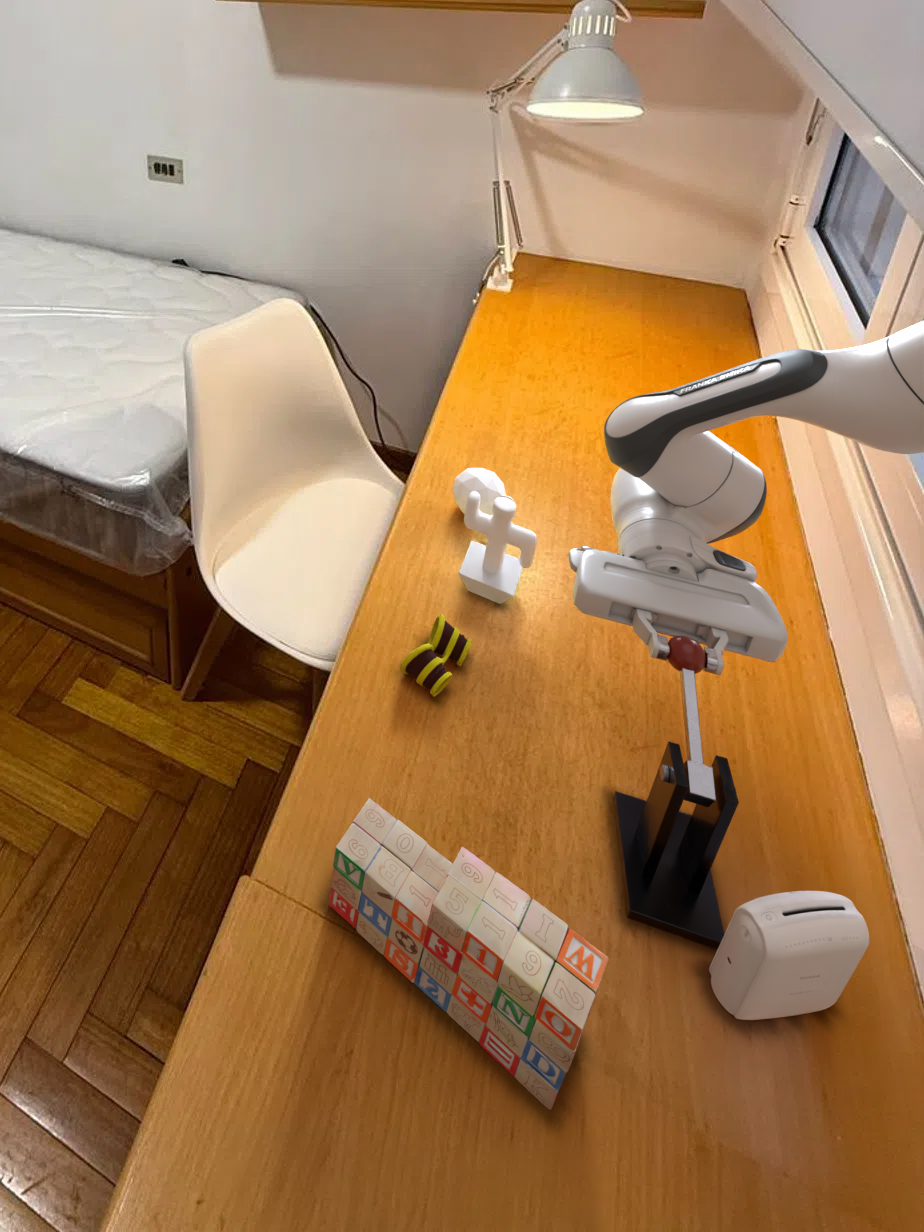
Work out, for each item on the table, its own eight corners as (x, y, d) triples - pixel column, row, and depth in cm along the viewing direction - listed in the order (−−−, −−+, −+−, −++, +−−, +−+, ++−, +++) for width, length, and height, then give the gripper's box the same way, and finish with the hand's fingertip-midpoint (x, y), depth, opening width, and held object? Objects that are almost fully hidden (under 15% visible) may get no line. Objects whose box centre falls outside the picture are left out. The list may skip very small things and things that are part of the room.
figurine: (517, 619, 111) (538, 532, 105) (446, 589, 116) (462, 504, 110) (528, 584, 117) (548, 499, 111) (460, 556, 121) (476, 473, 116)
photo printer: (731, 1028, 72) (773, 945, 67) (697, 968, 76) (735, 885, 71) (841, 1014, 73) (891, 931, 68) (802, 956, 77) (846, 873, 72)
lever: (659, 639, 89) (669, 625, 87) (697, 649, 88) (708, 635, 86) (671, 798, 79) (683, 787, 77) (714, 812, 78) (727, 801, 76)
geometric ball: (458, 525, 131) (433, 481, 131) (496, 496, 133) (471, 453, 133) (487, 536, 124) (460, 490, 124) (526, 505, 126) (500, 460, 126)
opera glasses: (431, 708, 100) (445, 684, 97) (394, 676, 103) (406, 652, 100) (467, 658, 107) (481, 634, 104) (431, 628, 109) (443, 605, 107)
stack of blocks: (325, 906, 80) (336, 824, 75) (359, 854, 84) (372, 773, 79) (552, 1113, 67) (584, 1030, 62) (579, 1040, 71) (611, 956, 66)
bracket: (612, 797, 90) (644, 701, 84) (696, 824, 87) (735, 727, 81) (627, 918, 79) (665, 818, 74) (723, 952, 77) (770, 851, 71)
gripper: (572, 522, 100) (583, 610, 87) (770, 568, 93) (812, 669, 81) (561, 563, 102) (571, 654, 90) (754, 610, 96) (792, 714, 84)
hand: (687, 662), depth 86 cm, fingers closed on lever, 3 cm apart
